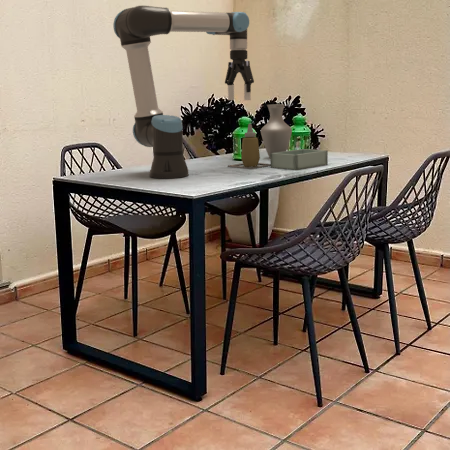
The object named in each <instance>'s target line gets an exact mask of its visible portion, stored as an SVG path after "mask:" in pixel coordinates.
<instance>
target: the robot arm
mask: <svg viewBox="0 0 450 450" xmlns="http://www.w3.org/2000/svg"><path fill="white" fill-rule="evenodd" d="M112 25H113V31H114V33H115V35H116V37H117V38H118V39H119V41H120V46H121V48H123V50H125V53H126V57H127V63H128V68H129V73H130V80H131V84H132V90H133V95H134V101H135V107H136V113H135V114H134V117H133V118H134V125H133V127H132V135H133V138H134V140H135V141H136V142H137V143H138V144H140V145H141V146H144V147H147V148H152V151H153V152H152V154H153V159H152V161H151V162H152V163H151V167H150V169H149V177H150V178H153V179H178V178H179V179H180V178H185V177H188V176H189V175H190V174H189V168H188V166H187V161H186V160H185V157H184V139H183V136H184V135H183V129H184V128H183V127H184V126H183V120H182V119H181V118H180V117H179V116H176V115H169V114H164V113H163V112H164V111H162V109H160V107H159V105H158V99H157V94H156V88H155V82H154V74H153V69H152V64H151V58H150V53H149V52H150V51H149V46H150V44H151V43H152V42H151V37H154V36H159V35H169V34H170V33H171V32H172V33H173V32H175V33H178V32H179V33H184V32H185V33H187V32H189V33H206V34H207V35H212V36H215V35H217V36H229V49H230V51H229V59H230V60H232V61H229V62H228V63H227V65H228V67H227V71H226V75H225V79H224V84H225V85H227V100H228V101H235V84H234V82H235V80H236V77H237V74H239V73H240V75H241V77H242V79H243V82H244V85H243V88H244V89H243V92H244V93H243V95H244V96H243V100H244V101H251V100H252V97H251V91H252V87H251V86H252V84H254V82H255V80H254V76H253V73H252V69H251V64H250V61H249V60H247V59H248V50H247V49H248V28H249V27H250V18H249V16H248V14H247V13H246V12H244V11H231V12H226V11H224V12H219V11H194V10H193V11H192V10H191V11H189V10H171V9H170V8H169V7H161V6H151V5H136V6H134V7H129V8H125V9H123V10H121V11H119V13H117V14H116V16H115V17H114V20H113V24H112Z"/></svg>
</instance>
